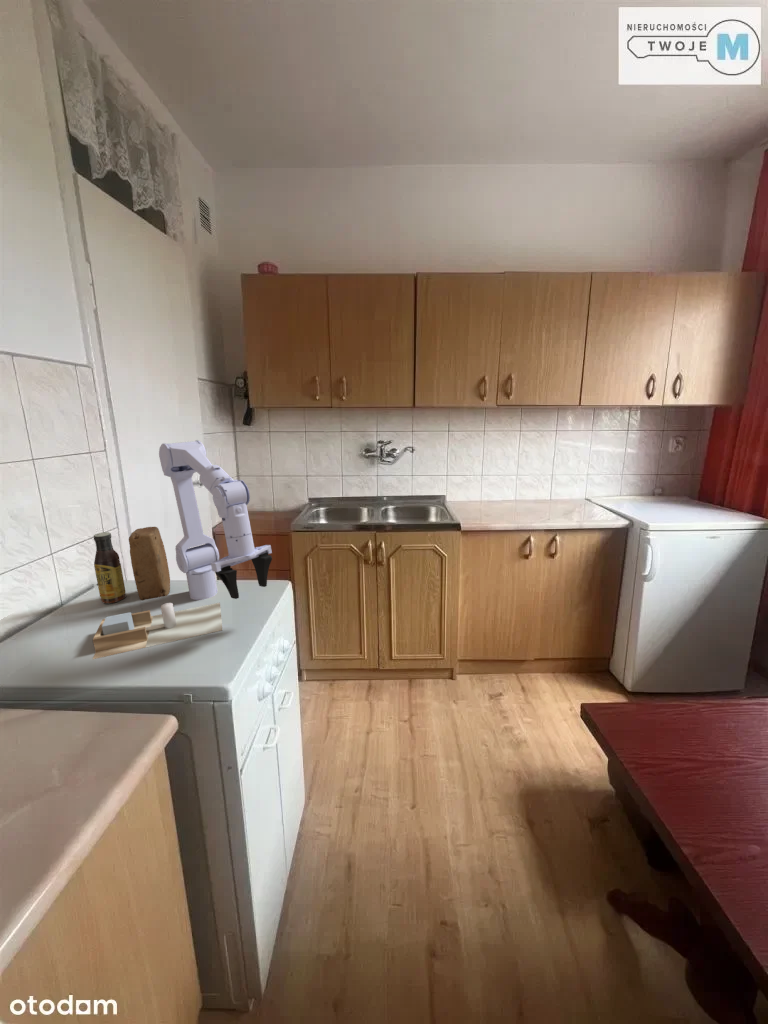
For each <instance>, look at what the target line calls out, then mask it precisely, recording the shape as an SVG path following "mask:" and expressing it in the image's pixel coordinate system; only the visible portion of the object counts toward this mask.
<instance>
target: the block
mask: <svg viewBox="0 0 768 1024" xmlns="http://www.w3.org/2000/svg"><path fill="white" fill-rule="evenodd" d="M128 543H129V556H130V563H131V567H132V573H133V577H134V583H135V586H136V590H137V594H138V598H139V599H140V601H147V600H151V599H156V598H162V597H167V596H168V595H169V594H170V591H171V576H170V570H169V562H168V558H167V553H166V549H165V545H164V541H163V538H162V536H161V533H160V530H159V527H158V526H146V527H141V528H137V529H135V530H133V532H131V533H130V536H129V537H128Z"/></svg>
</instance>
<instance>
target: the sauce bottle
mask: <svg viewBox="0 0 768 1024" xmlns="http://www.w3.org/2000/svg"><path fill="white" fill-rule="evenodd" d="M93 540H94V541H93V542H94V544H95V548H96V549H95V550H96V551H95V557H94V561H93V565H94V566H93V567H94V572H95V577H96V583H97V587H98V592H99V597H100V600H101V602H102V603H103V604H115V603H118V602H120V601H122V600H124V599H125V598H126V596H127V594H126V588H125V586H126V585H125V580H124V575H123V570H122V563H121V561H120V556H119V553H118V552H117V551H116V550H115V549H114V547H113V543H112V534H111V532H110V531H109V532H107V531H105V532H98V533H95V534H93Z"/></svg>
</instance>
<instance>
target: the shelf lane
mask: <svg viewBox="0 0 768 1024" xmlns="http://www.w3.org/2000/svg"><path fill="white" fill-rule="evenodd" d="M221 608H222V607H221V602H217V603H215V602H214V603H212V604H211V603H210V604H207V605H201V606H196V607H190V608H186V609H180V610H176V611H175V610H174V613H175V619H176V624H177V625H176V626H175V627H174V628H171V629H165V627H164V628H159V629H154V630H150V631H146V628H145V627H150V626H155V625H160V624H164V622H163V616H162V613H161V614H156V615H152V614H151V610H150V609H149V610H144V611H143V610H142V611H139V612H134V613H131V615H132V620H133V624H134V629H133V630H128V631H123V632H118V633H113V634H109V635H104V634H103V630H102V625H103V623H104V621H105V619H106V618H103V619H102V620H101V622H100V623H99V626H98V628H97V630H96V632H95V634H94V635H93V639H92V642H93V646H94V651H95V652H94V655H93V657H92V660H95V659H96V660H97V659H101V658H106V657H110V656H114V655H118V654H123V653H127V652H133V651H137V650H141V649H145V648H151V647H154V646H159V645H163V644H168V643H173V642H176V641H181V640H182V641H183V640H186V639H190V638H194V637H199V636H203V635H207V634H213V633H218V632H221V631H223V620H222V619H223V618H222V610H221Z"/></svg>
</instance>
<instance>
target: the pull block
mask: <svg viewBox="0 0 768 1024" xmlns="http://www.w3.org/2000/svg"><path fill="white" fill-rule="evenodd" d="M160 611H161V614H162V616H163V622H164V624H160V625H155V626H150V627H145V628H146V631H150V630H154V629H159V628H164V627H165V629H171V628H174V627H175V626H176V625H177V624H176V619H175V613H174V612H175V610H174V604H173V602H165V603H164V604H161V605H160ZM131 614H132V612H131V611H130V612H124V613H120V614H114V615H109V616H106V617H105V618H104V619H105V621H104V623H103V625H102V630H103V634H104V635H109V634H113V633H118V632H123V631H128V630H133V629H134V624H133V620H132V615H131Z"/></svg>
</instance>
